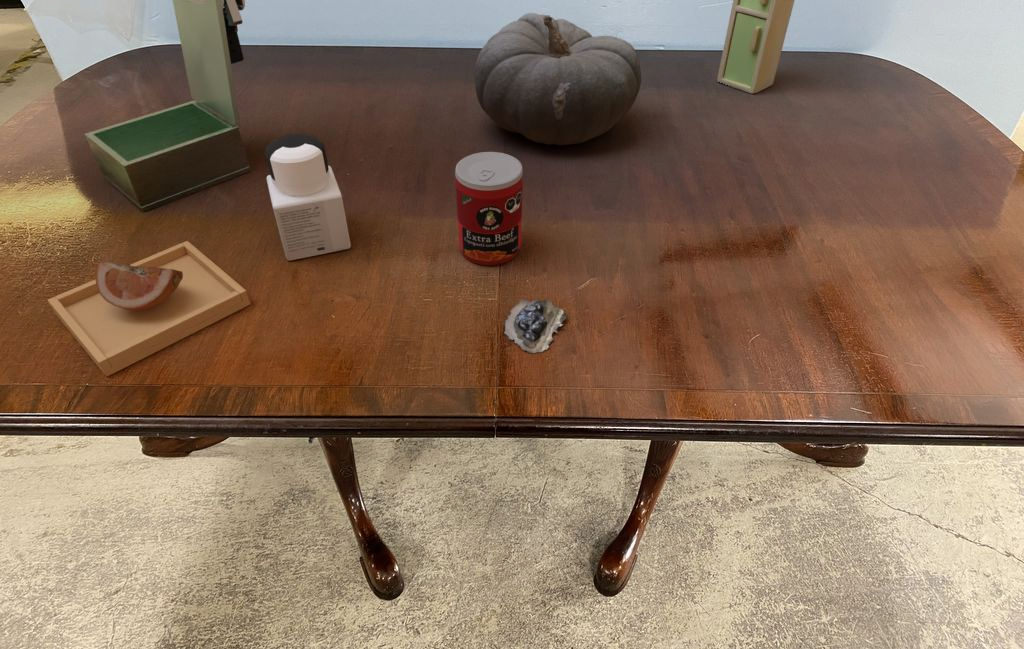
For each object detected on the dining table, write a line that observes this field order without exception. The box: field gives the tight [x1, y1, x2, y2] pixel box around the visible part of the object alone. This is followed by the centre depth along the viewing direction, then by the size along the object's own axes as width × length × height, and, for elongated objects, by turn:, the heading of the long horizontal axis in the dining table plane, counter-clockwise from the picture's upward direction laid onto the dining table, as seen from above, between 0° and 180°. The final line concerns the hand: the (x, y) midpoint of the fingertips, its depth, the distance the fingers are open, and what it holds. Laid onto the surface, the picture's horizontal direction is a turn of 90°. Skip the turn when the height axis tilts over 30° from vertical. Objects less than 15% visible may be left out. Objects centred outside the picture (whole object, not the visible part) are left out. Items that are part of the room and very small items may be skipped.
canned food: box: [454, 151, 524, 266], centre depth 79 cm, size 8×8×11 cm
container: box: [264, 133, 352, 261], centre depth 79 cm, size 8×8×13 cm
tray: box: [47, 240, 251, 377], centre depth 72 cm, size 16×14×2 cm
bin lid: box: [172, 0, 241, 125], centre depth 90 cm, size 16×13×1 cm
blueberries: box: [503, 298, 568, 354], centre depth 71 cm, size 7×8×2 cm
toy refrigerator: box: [716, 0, 796, 95], centre depth 115 cm, size 8×7×21 cm
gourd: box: [474, 12, 642, 146], centre depth 103 cm, size 25×25×17 cm
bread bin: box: [84, 99, 251, 213], centre depth 93 cm, size 16×13×7 cm
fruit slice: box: [95, 261, 183, 310], centre depth 71 cm, size 8×7×5 cm
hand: (230, 61), depth 93 cm, fingers closed
